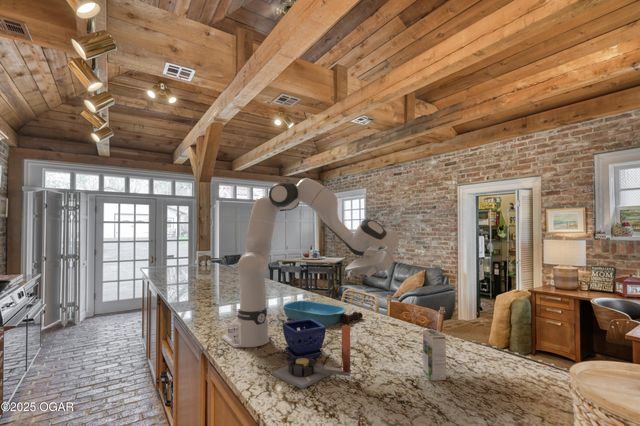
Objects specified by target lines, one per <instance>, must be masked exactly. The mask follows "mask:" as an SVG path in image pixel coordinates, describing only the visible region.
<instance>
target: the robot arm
mask: <svg viewBox="0 0 640 426" xmlns="http://www.w3.org/2000/svg"><path fill="white" fill-rule="evenodd" d="M300 203H303V204H305V205H306V206H308V207H309V208H311V210H313V211H314V212H315V213H316V214H317V215H318V216H319V217H320V219H321V221H322V223H323V224H324V225H325V226H326V227H327V228H328V230H329V231H331V232H332V233H333V234H334V235H335V236H336V237H337V238H338V239H339V240H340V241H341V242H342V243H344V245H345V246H346V247H347V248H348V250H349V251H350V252H351V253H353V254H354V255H355V256H358V257H359V256H360V257H361V258H357V259H355V260H353V261H352V262H350V263H349V264H348V265H346V267H345V268H344V269H345V270H344V271H345V273H346V280H347V281H353V279H354V277H355V276H361V275H364V276H363V277H365V279H368V278H371V276H373V275H374V274H376V273H379V272H384V271H386V270H388V269H389V268H390V267H391V266H392V265H393V263H395V261H396V258H395V256H394V254H393V253H394V252H395V251H396V249H397V248H398V247H399V244H400V236H399V235H398V233H397V232H396V231H395V230H393V229H392V228H385V227H383V226H382V225H381V224H380V223H379V222H377V221H376V220H374V219H371V218H369V219H367V218H366V219H364V220H362V221H361V222H360V224H359V225H358V226H357V227H356V229H355V231H354V232H353V231H351V230H350V229H349V228H348V227H347V226H346V225H345V224H344V223H343V222H342V221H341V220H340V217H339V214H338V208H339V204H338V203H339V202H338V198H337V196H336V194H335V193H334V192H333V191H332V190H330V189H329V188H327V187H326V186H324V185H323V184H322V183H319V182H318V181H317V180H314V179H311V178H308V177H305V178H304V177H303V178H302V179H301V180H299V181H298V182H297V184H295V183H292V182H276V183H274V184H273V185H272V186H271V187H270V189H269V191H268V196H266V195H262V196H258V197H257V198H256V200H254V203H253V206H252V208H251V213H250V216H249V221H248V226H247V231H246V237H245V238H246V242H245V252H244V253H243V255H242V256H241V257H240V258H239V260H238V262H237V272H238V273H237V274H238V283H239V293H240V294H239V308H238V309H237V310H236V313H237V317H236V318H235V319H233V320H232V321H231V322H230V323H229V324H228V326H227V331H226V332H227V333H225V334H223V335H222V336H221V339H222V340H223V341H225V342H226V343H227V344H229V345H230V346H231V347H233V348H256V347H260V346H264V345H266V344H268V343H269V342H270V338H271V334H270V333H269V322H268V321H269V320H268V318H267V316H268V310H267V309H268V308H267V286H266V277H265V271H266V270H267V268H268V265H269V260H270V259H269V258H270V252H271V243H272V238H273V233H274V228H275V222H276V217H277V214H278V212H285V211H292V210H294V209H296V208H298V206H299V204H300Z"/></svg>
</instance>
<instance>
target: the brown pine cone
mask: <svg viewBox="0 0 640 426" xmlns="http://www.w3.org/2000/svg"><path fill="white" fill-rule="evenodd" d="M363 317H364V315H363V314H362V313H361V312H358V311H353V312H352V313H350V314H346V313H344V314H342V315H341V317H340V321H339V322H341V324H342V323H343V324H342V325H345V324H347V325H349V324H350V322H353V321H355V320H358V321H359V320H360V319H362V318H363Z"/></svg>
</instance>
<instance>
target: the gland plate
mask: <svg viewBox="0 0 640 426" xmlns="http://www.w3.org/2000/svg"><path fill="white" fill-rule="evenodd" d="M296 363H297V364H304V366H308V363H309V360H308V359H306V358H299V359H297V360H296ZM316 365H317V366H319V365H318V364H316ZM329 375H331V374H329V373H321V372H314V374H312V375H309V376H305V377H304V376H302V377H300V376H293V375H291V374H290V373H289V372H288V365H286V366H283V367H281V368H279V369H277V370H275V371H273V372H272V376H274V377H276V378H277V379H280V380H282V381H284V382H285V383H289V384H290V385H292V386H294V387H297V388H299V389H301V390H304V389H305V388H307V387H310V386H311V385H313V384H315V383H317V382H319V381H320V380H322V379H324V378H326V377H328V376H329Z"/></svg>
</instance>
